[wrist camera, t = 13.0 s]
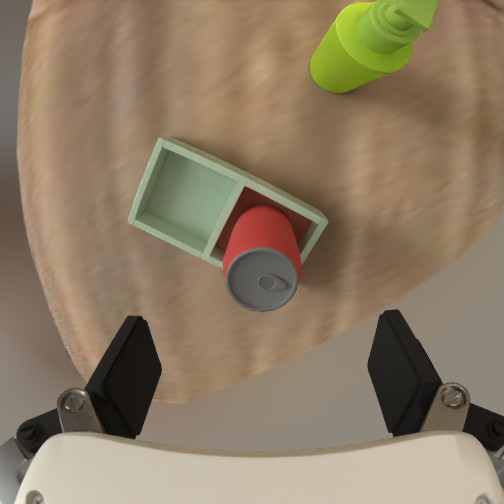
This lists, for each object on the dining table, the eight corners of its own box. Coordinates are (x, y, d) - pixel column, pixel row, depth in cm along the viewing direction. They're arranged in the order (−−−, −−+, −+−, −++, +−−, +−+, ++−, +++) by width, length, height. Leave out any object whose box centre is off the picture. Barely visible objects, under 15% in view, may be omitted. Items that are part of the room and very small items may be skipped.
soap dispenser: (370, 54, 25) (473, -7, 7) (349, 102, 28) (453, 73, 10) (323, 31, 25) (386, -65, 6) (301, 79, 27) (352, 7, 9)
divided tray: (139, 212, 34) (126, 222, 30) (170, 136, 30) (158, 137, 27) (280, 280, 37) (281, 296, 33) (322, 211, 33) (329, 221, 30)
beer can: (282, 263, 35) (289, 325, 24) (228, 249, 34) (210, 306, 23) (299, 211, 32) (317, 254, 21) (242, 195, 32) (229, 230, 21)
